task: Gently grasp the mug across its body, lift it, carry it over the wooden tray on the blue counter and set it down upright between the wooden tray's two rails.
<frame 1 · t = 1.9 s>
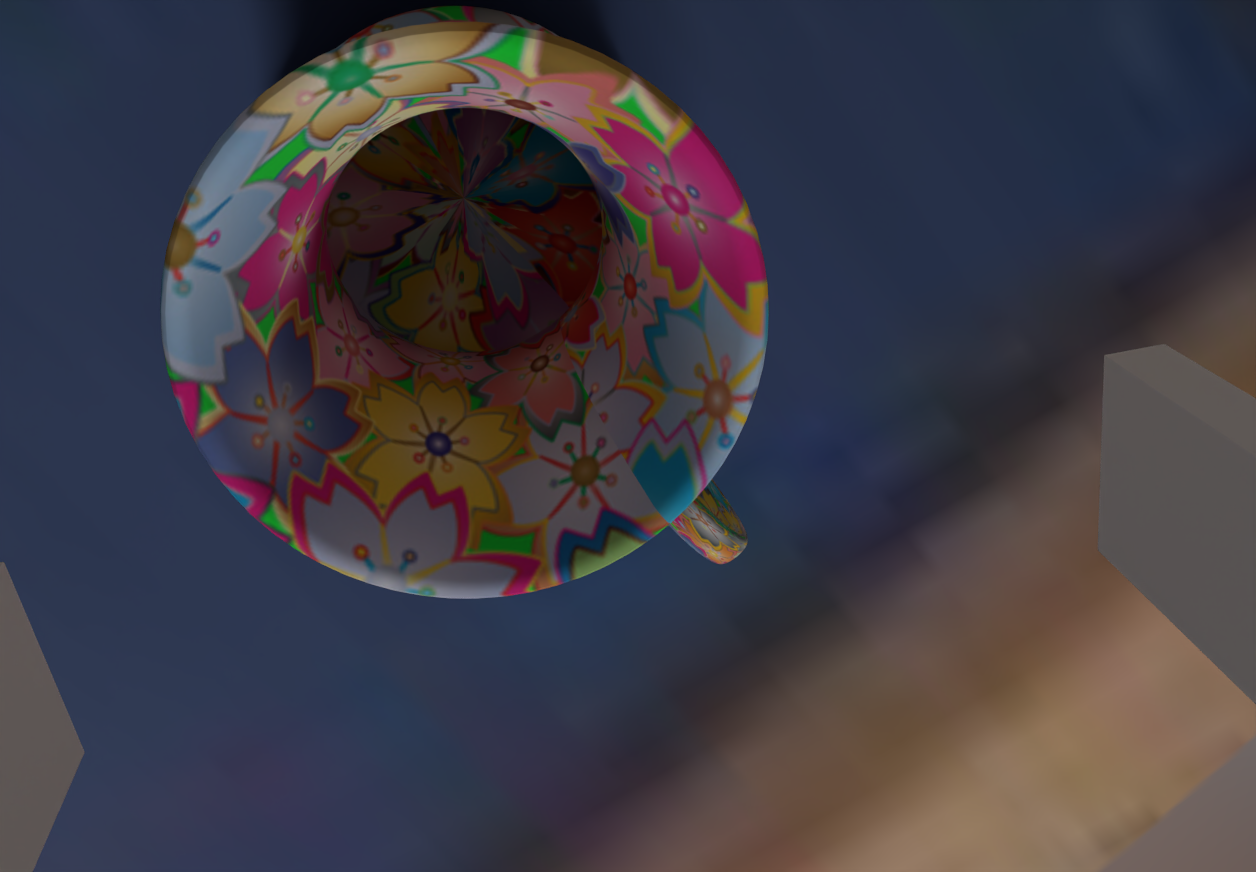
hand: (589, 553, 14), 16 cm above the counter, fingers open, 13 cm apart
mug: (503, 232, 28), on the counter
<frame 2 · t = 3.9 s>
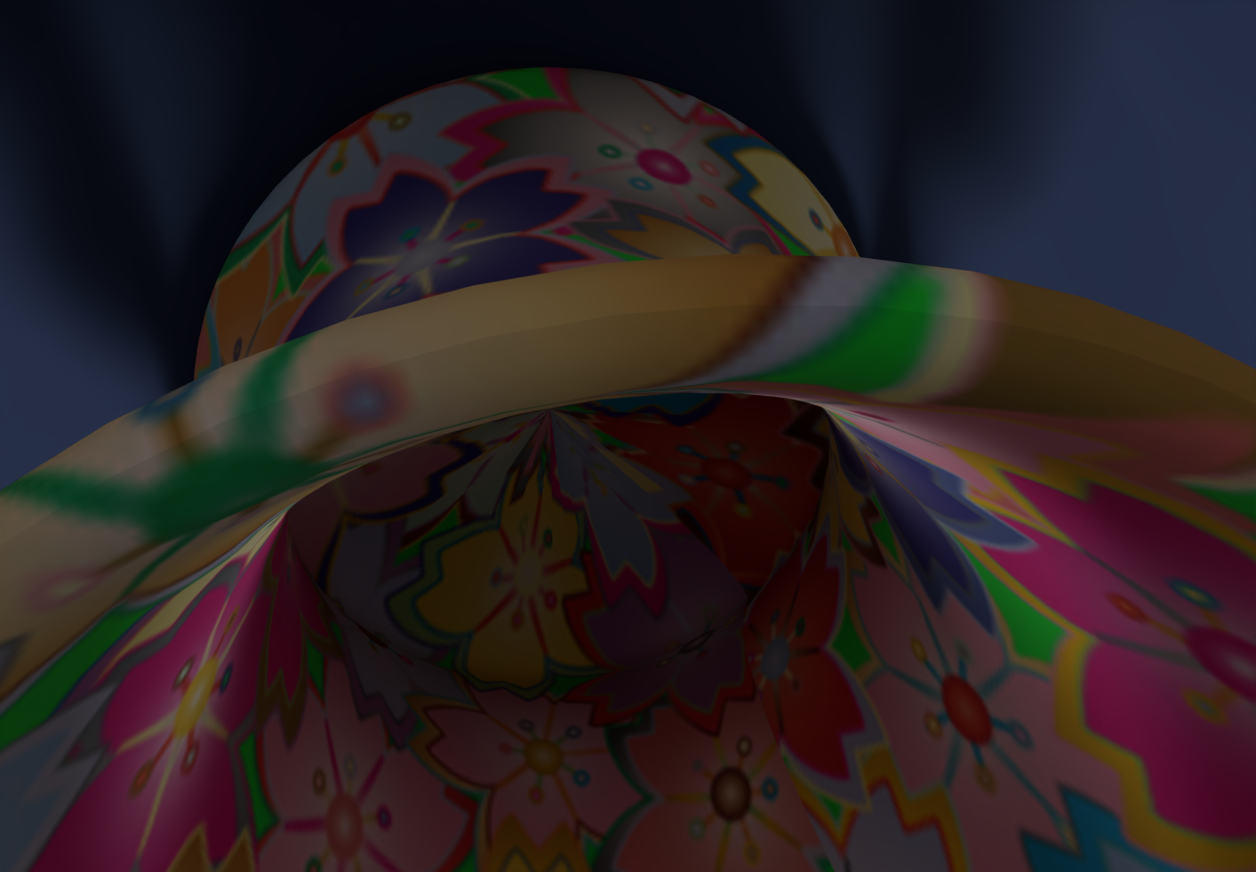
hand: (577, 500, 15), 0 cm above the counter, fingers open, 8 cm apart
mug: (617, 452, 16), on the counter, touching gripper
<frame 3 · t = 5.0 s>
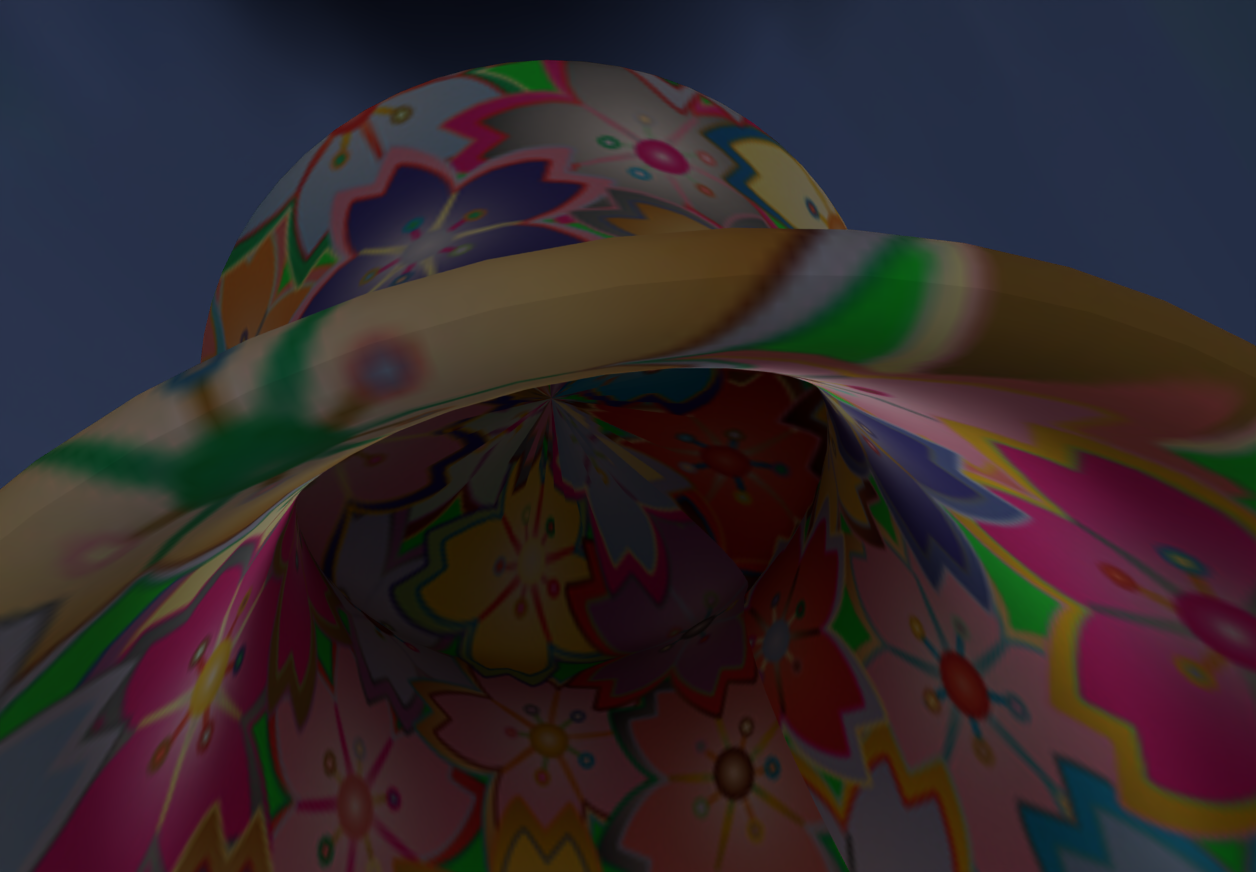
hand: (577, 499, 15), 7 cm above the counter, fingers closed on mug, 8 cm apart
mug: (618, 441, 16), point 6 cm above the counter, touching gripper
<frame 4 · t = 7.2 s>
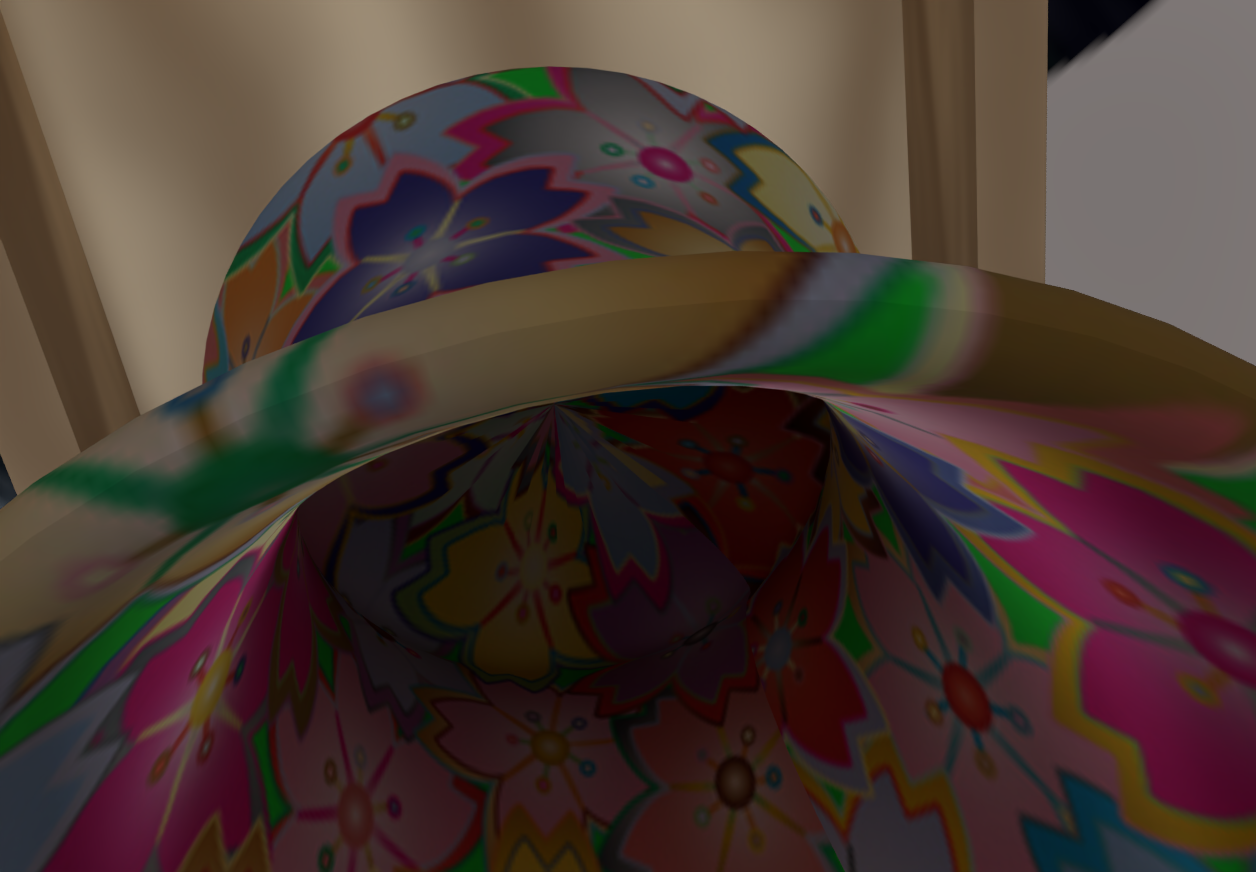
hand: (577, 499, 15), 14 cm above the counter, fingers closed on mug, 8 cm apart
wooden tray: (514, 233, 29), on the counter
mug: (621, 446, 16), point 14 cm above the counter, touching gripper
when the fingers open (4 cm above the counter, at t = 9.8 s): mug drops 2 cm, resting on wooden tray.
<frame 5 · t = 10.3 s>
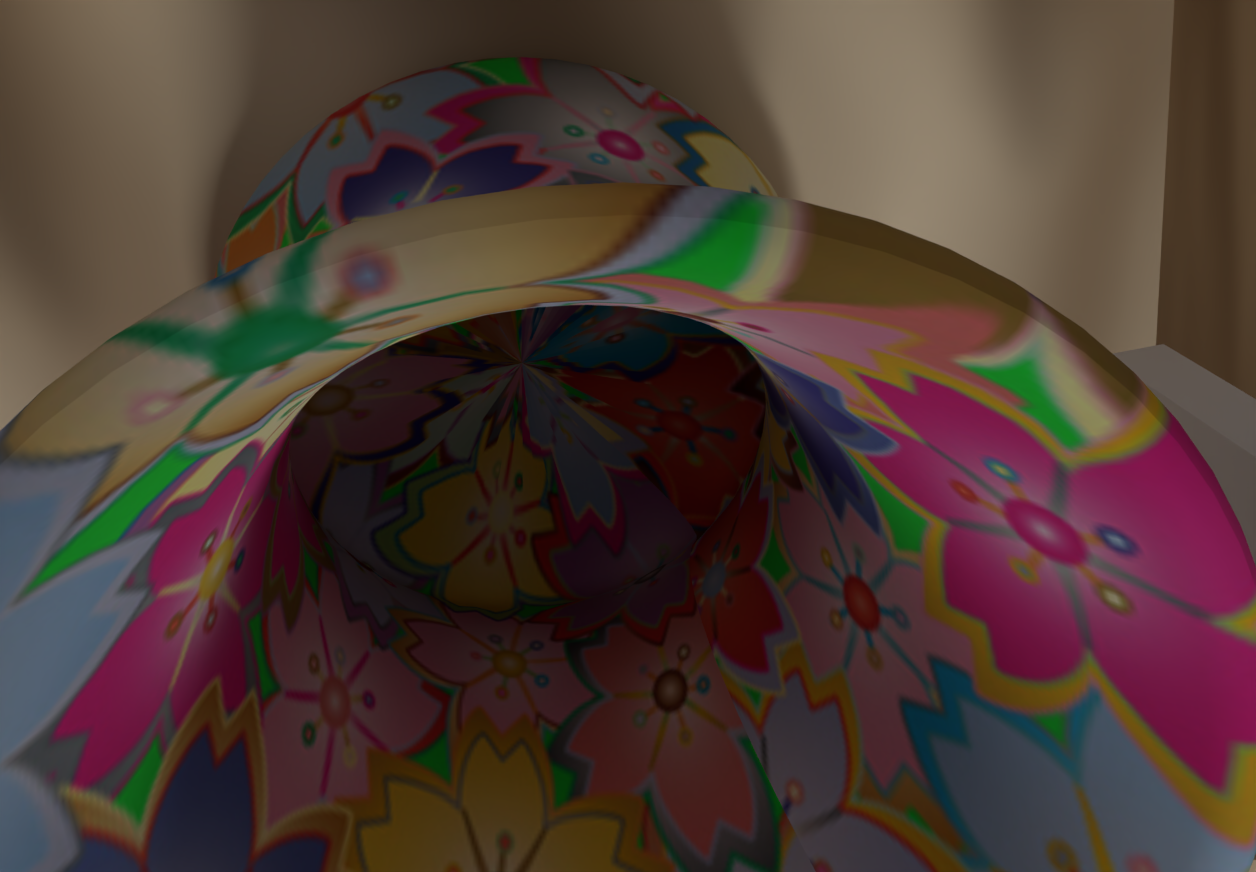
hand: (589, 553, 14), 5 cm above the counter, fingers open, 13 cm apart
wooden tray: (554, 393, 19), on the counter
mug: (583, 405, 18), point 1 cm above the counter, touching wooden tray
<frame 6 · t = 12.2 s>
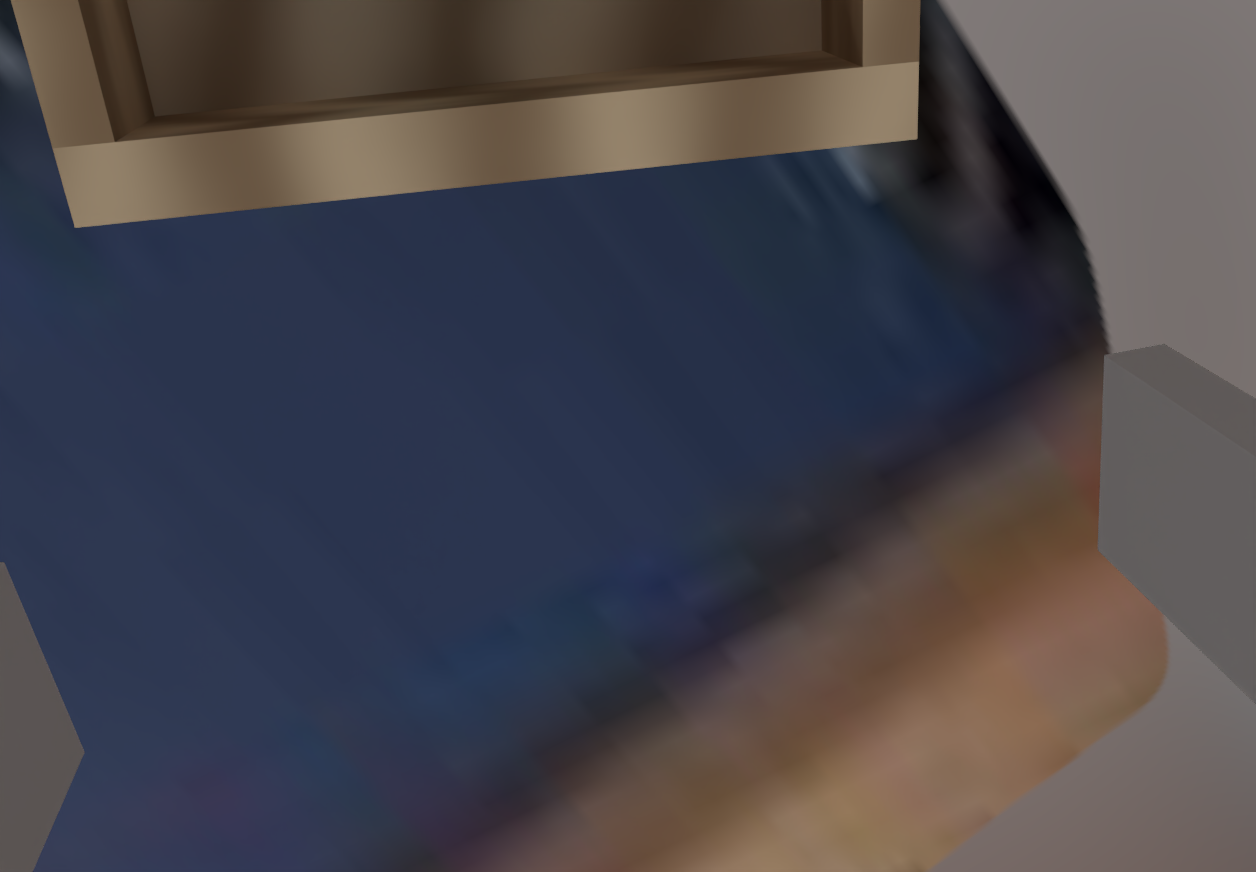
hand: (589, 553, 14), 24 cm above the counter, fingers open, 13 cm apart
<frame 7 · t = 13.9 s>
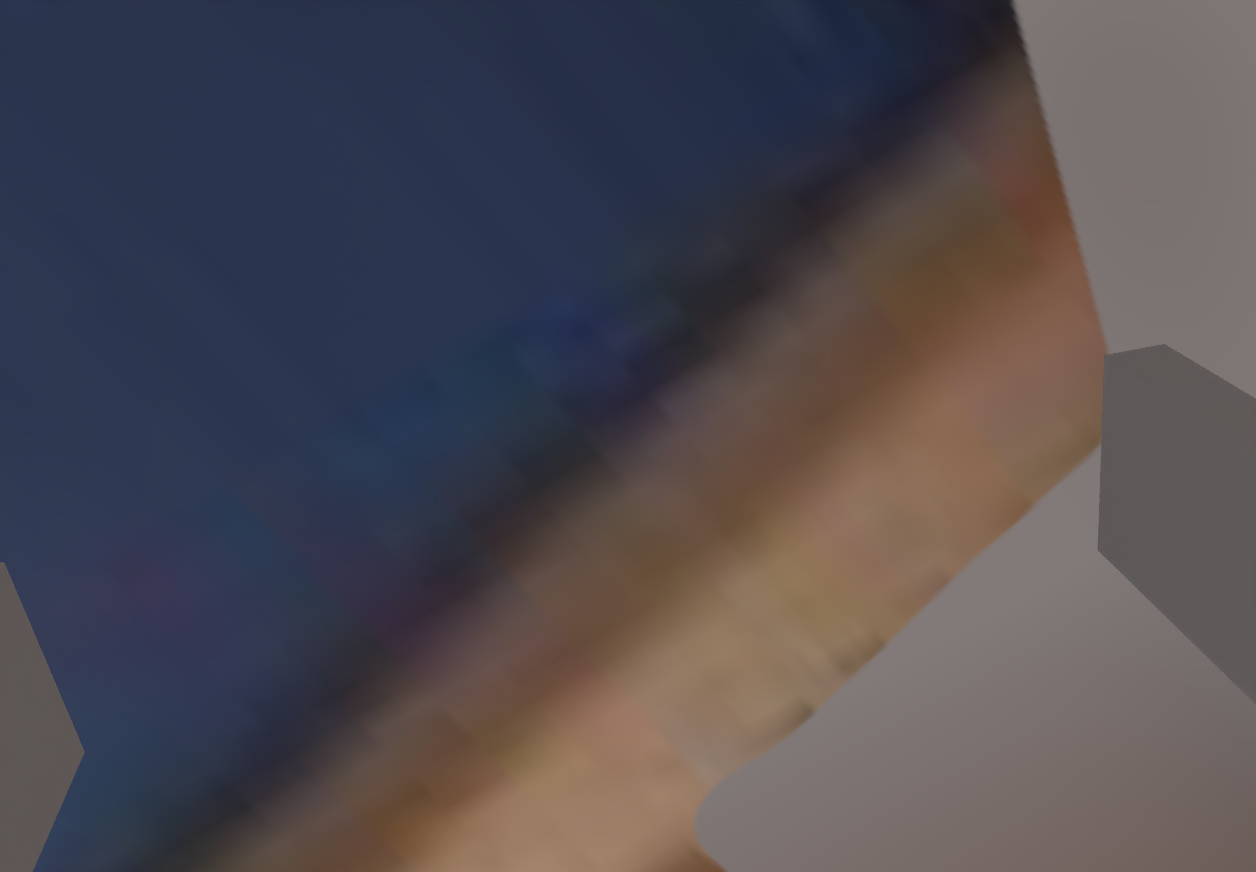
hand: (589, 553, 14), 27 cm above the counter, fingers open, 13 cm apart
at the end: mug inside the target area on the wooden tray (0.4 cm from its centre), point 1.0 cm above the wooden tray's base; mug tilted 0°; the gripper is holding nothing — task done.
